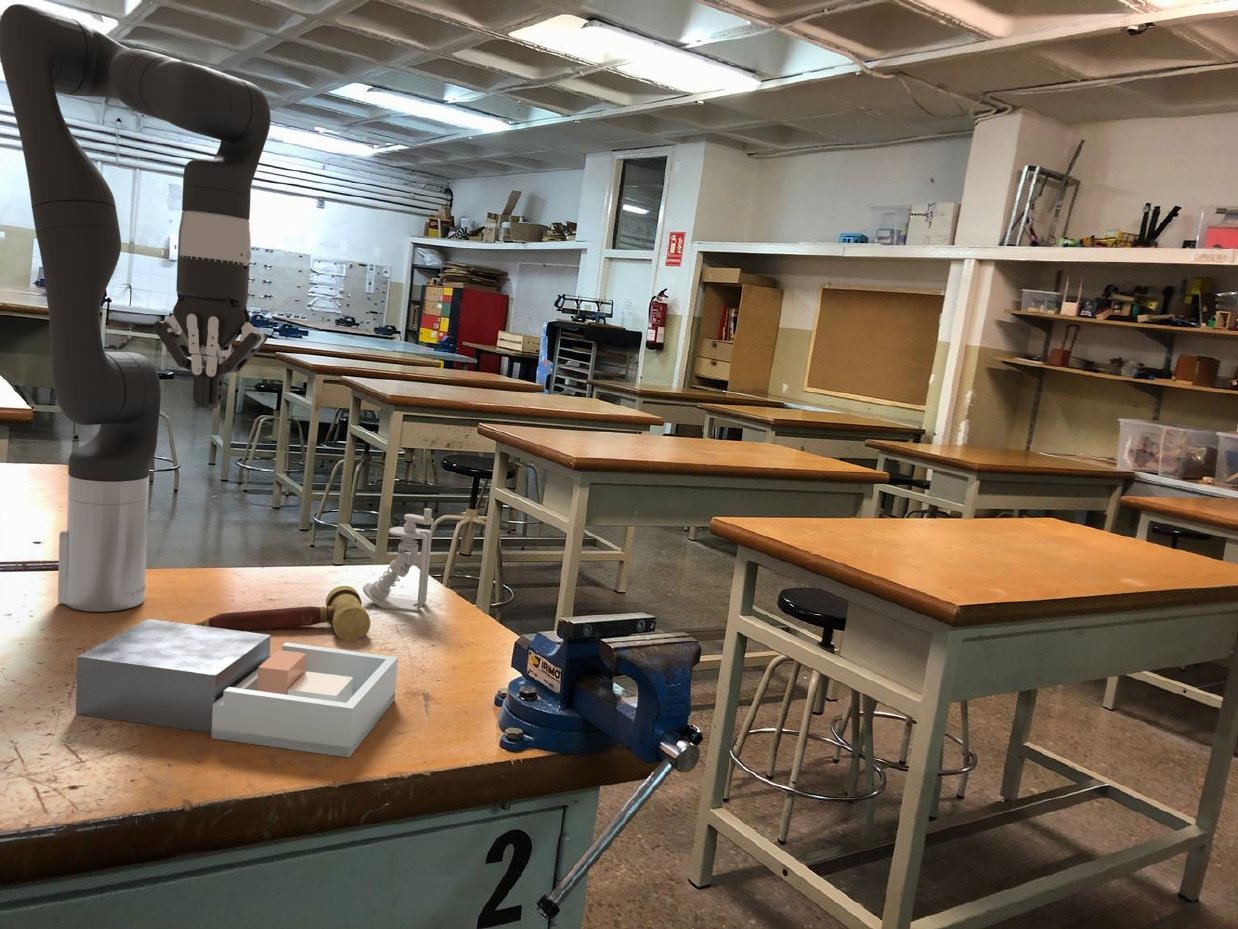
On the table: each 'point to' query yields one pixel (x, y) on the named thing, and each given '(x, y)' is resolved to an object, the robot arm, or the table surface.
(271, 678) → the tile terracotta
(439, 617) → the table surface
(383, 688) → the box
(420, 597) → the clamp
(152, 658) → the grey metallic box
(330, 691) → the tile cream
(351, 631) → the gavel
